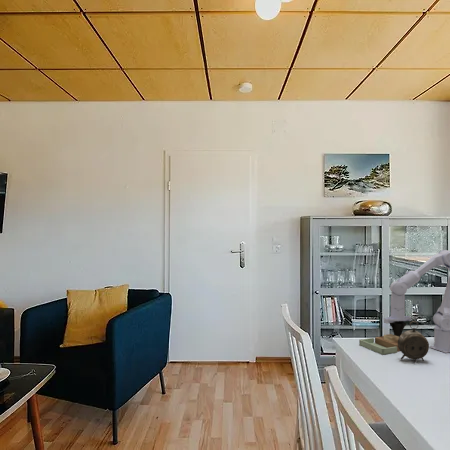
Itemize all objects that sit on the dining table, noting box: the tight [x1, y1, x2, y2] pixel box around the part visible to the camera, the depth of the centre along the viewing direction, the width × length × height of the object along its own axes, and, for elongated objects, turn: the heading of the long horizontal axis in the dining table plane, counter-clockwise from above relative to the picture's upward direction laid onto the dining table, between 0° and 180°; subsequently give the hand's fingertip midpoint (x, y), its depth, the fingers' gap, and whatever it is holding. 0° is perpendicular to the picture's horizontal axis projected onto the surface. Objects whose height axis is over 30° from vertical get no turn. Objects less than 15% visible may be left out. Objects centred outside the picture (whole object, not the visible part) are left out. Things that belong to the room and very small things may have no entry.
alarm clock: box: [398, 320, 430, 364], centre depth 152 cm, size 11×5×16 cm, turn 84°
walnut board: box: [374, 335, 401, 353], centre depth 170 cm, size 9×12×3 cm
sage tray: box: [358, 337, 398, 356], centre depth 167 cm, size 8×14×2 cm, turn 22°
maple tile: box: [383, 333, 399, 342], centre depth 170 cm, size 4×4×2 cm
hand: (397, 337), depth 171 cm, fingers closed
